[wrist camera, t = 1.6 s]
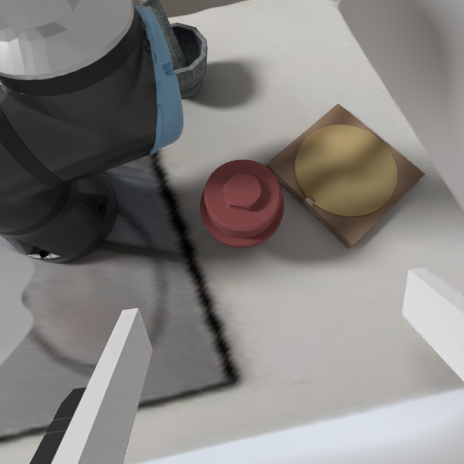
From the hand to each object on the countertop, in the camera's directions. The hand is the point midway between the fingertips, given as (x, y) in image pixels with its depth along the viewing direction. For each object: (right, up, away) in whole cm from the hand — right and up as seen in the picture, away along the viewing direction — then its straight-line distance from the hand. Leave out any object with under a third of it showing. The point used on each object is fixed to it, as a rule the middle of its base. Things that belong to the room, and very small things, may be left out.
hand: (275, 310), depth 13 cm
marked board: (+15, +13, +29) cm, 35 cm away
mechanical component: (-1, +5, +27) cm, 27 cm away
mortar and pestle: (-11, +30, +34) cm, 47 cm away
